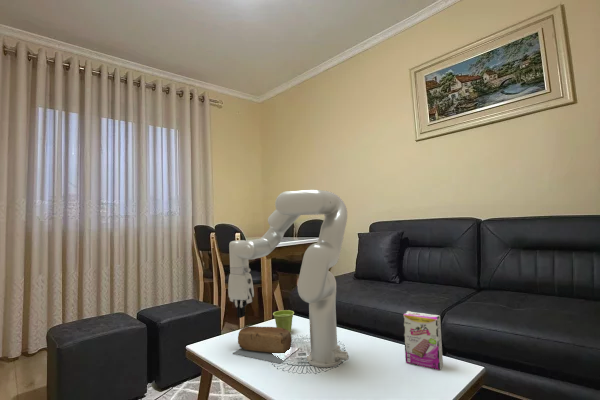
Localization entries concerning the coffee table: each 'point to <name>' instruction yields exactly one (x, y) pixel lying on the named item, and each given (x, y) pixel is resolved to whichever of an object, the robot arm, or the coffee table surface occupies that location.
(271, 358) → the mat
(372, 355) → the coffee table surface
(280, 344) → the block
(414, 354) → the candy bar box
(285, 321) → the plant pot
